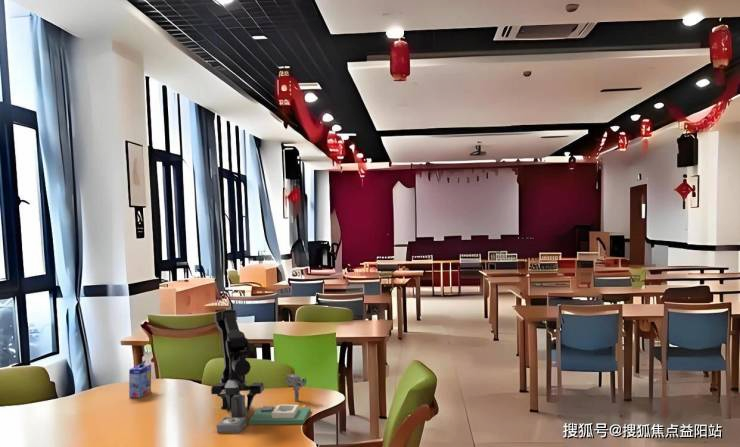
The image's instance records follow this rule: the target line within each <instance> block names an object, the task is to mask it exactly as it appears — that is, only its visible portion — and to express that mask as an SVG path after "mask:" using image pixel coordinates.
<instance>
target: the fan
mask: <svg viewBox="0 0 740 447" xmlns="http://www.w3.org/2000/svg"><path fill="white" fill-rule="evenodd" d="M246 425H247V417H246V416H245V417H232V416H231V417H228V416H227V417H226V416H225V417H224V418H222V419H221V420H220V421H219V423H218V424H217V425H216V433H217V434H219V433H220V434H221V433H223V434H224V433H227V434H228V433H229V434H231V433H232V434H233V433H235V434H236V433H241V431H242V430H243V429H244V428H245V427H246Z"/></svg>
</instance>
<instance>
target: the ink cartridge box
mask: <svg viewBox="0 0 740 447" xmlns="http://www.w3.org/2000/svg"><path fill="white" fill-rule="evenodd" d="M128 371H129V373H128V376H129V377H128V378H129V380H128V381H129V382H128V384H129V385H128V386H129V388H128V392H129V394H128V396H129V398H142V397H144V396H145V395H147V394H149V393H151V392H152V364H151V363H148V364H147V363H146V359H145V360H144V361H141V362H140V364H138V365H136V366H133V367H132V368H129V370H128Z"/></svg>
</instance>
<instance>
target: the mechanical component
mask: <svg viewBox="0 0 740 447" xmlns="http://www.w3.org/2000/svg"><path fill="white" fill-rule="evenodd" d="M285 379H286V384H287V385H288V386H291V387H293V391H294V402H298V400H299V399H300V397H299V394H300V393H299V391H300V390H301V389H300V388H302V387H305V386H306V385H307V378H306V377H302V378H301V376H300V375H298V374H293V373H290V374H287V375H286V376H285ZM299 401H300V400H299Z"/></svg>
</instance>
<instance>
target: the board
mask: <svg viewBox="0 0 740 447" xmlns="http://www.w3.org/2000/svg"><path fill="white" fill-rule="evenodd" d="M310 413H311V407H309V406H308V407H307V406H306V407H304V406H303V407H302V406H299V404H277V405H276V407H275V406H273V405H265V406H262V407H258V408H257V410H256V411H255V412H254V413H253V414H252V416H251V417H250V418H249V419H248V425H304V424H305V422H306V420H307V418H308V417H309V415H310Z"/></svg>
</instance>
